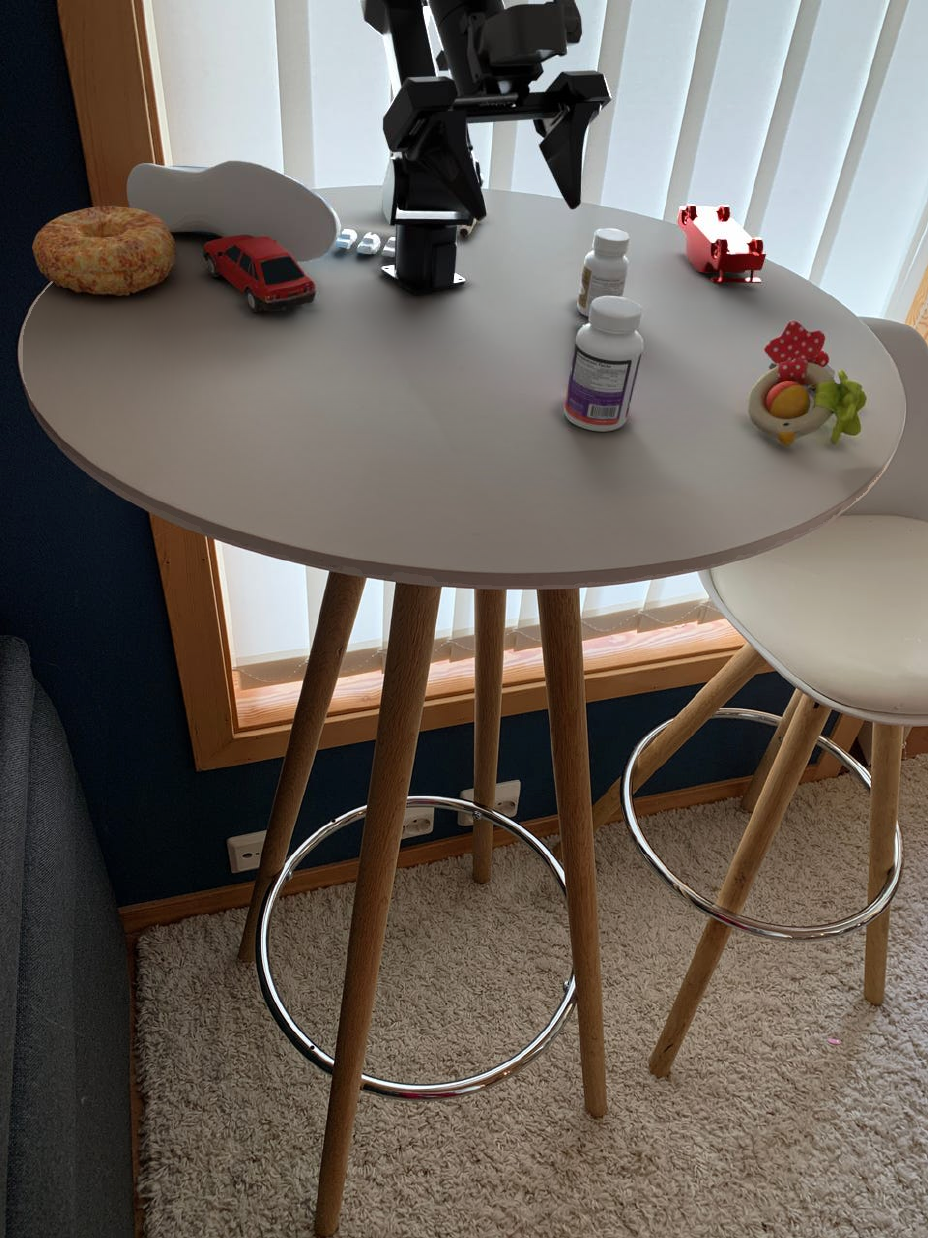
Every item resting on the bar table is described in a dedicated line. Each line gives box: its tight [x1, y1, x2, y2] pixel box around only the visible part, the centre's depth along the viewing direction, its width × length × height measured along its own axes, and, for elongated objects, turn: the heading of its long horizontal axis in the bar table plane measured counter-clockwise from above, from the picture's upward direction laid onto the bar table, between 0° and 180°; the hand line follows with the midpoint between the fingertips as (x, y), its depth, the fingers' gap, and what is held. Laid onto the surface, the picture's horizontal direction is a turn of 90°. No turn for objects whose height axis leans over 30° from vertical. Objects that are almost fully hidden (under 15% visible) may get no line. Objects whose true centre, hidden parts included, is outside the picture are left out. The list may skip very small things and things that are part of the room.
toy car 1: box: [202, 235, 317, 313], centre depth 90 cm, size 6×14×5 cm, turn 37°
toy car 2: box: [676, 203, 767, 284], centre depth 106 cm, size 14×6×5 cm, turn 10°
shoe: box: [126, 159, 342, 263], centre depth 100 cm, size 9×23×12 cm
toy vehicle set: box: [334, 228, 395, 258], centre depth 101 cm, size 12×4×2 cm, turn 79°
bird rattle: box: [747, 319, 868, 447], centre depth 79 cm, size 6×11×9 cm
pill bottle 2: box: [563, 296, 644, 433], centre depth 76 cm, size 5×5×10 cm
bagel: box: [31, 205, 177, 297], centre depth 90 cm, size 13×14×5 cm
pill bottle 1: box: [576, 227, 631, 318], centre depth 93 cm, size 4×4×8 cm
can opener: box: [459, 219, 477, 238], centre depth 110 cm, size 9×2×1 cm, turn 174°
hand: (530, 212), depth 75 cm, fingers open, 9 cm apart
